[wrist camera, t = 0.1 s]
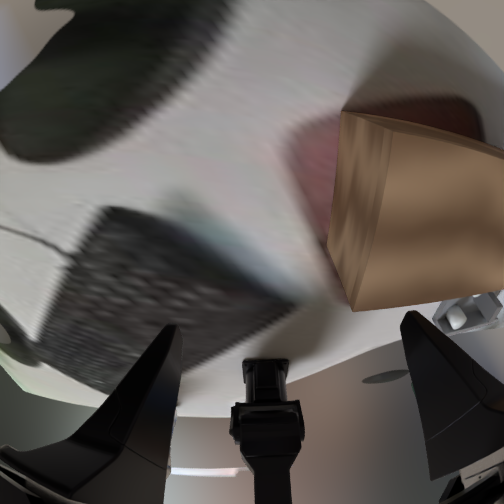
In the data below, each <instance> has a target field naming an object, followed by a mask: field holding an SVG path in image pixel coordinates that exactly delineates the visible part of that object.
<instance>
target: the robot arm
mask: <svg viewBox="0 0 504 504" xmlns="http://www.w3.org/2000/svg"><path fill="white" fill-rule="evenodd" d="M400 331H401V336H402V341H403V346H404V350H405V356H406V361H407V365H408V369H409V372H410V376H411V380H412V383H413V387H414V391H415V395H416V399H417V404H418V408H419V413H420V418H421V422H422V428H423V433H424V438H425V445H426V451H427V458H428V465H429V473H430V480H431V481H433V480H436V479H439V478H441V477H444V476H446V475H449V474H451V473H454V472H456V471H458V470H459V472H460V475H458V476H456V477H454V478H453V479H451V480H450V481H449V483H448V485H447V487H446V489H445V491H444V493H443V494H442V496H441V498H440V500H439V504H504V384H502V383H501V382H500V381H499V380H497V379H496V378H495V377H494V376H492V375H491V374H490V373H489V372H487V371H486V370H485V369H484V368H482V367H481V366H480V365H479V364H478V363H477V362H476V361H475V360H474V359H472V358H471V357H470V356H469V355H468V354H467V353H466V352H465V351H464V350H462V349H461V348H460V347H459V346H458V345H457V344H456V343H454V342H453V341H452V340H451V339H450V338H449V337H448V336H446V335H445V334H444V333H443V332H442V331H441V330H439V329H438V328H437V327H436V326H435V325H433V324H432V323H431V322H430V321H429V320H427V319H426V318H425V317H424V316H423V315H421V314H420V313H419V312H418V311H416V310H413V311H408V312H407V313H406V314H405V316H404V318H403V320H402V322H401V325H400ZM182 350H183V337H182V334H181V331H180V328H179V325H178V324H173V323H168V324H166V325H165V327H164V328H163V329H162V330H161V332H160V333H159V334H158V335H157V337H156V338H155V339H154V340H153V341H152V343H151V344H150V345H149V346H148V348H147V349H146V350H145V351H144V353H143V354H142V355H141V356H140V358H139V359H138V360H137V361H136V363H135V364H134V365H133V366H132V368H131V369H130V370H129V371H128V373H127V374H126V375H125V376H124V378H123V379H122V380H121V382H120V383H119V384H118V385H117V387H116V389H114V390H113V392H112V393H111V394H110V395H109V397H108V398H107V399H106V400H105V401H104V403H103V404H102V405H101V406H100V407H99V408H98V409H97V410H96V412H95V413H94V414H93V415H92V416H91V417H90V418H89V419H88V420H87V421H86V422H85V423H84V424H83V425H82V426H81V427H80V428H79V429H78V430H77V431H76V432H75V433H74V434H72V435H71V436H70V437H68V438H67V439H65V440H62V441H60V442H57V443H53V444H50V445H47V446H43V447H40V448H37V449H33V450H29V451H18V450H16V449H15V448H13V447H11V446H9V445H7V444H6V445H4V446H1V447H0V459H1V460H2V461H3V462H5V463H6V464H8V465H9V466H10V467H12V468H13V469H15V470H16V471H18V472H20V473H21V474H20V473H18V472H16V471H13V470H12V469H9V468H7V467H5V466H4V465H1V464H0V504H163V501H164V491H165V482H166V474H167V465H168V458H169V450H170V443H171V436H172V429H173V423H174V416H175V410H176V404H177V398H178V392H179V386H180V380H181V367H182ZM288 365H289V361H288V360H287V359H283V360H260V361H243V362H242V368H243V379H244V383H245V384H246V403H239V402H235V406H233V407H231V421H230V429H229V434H230V435H231V436H232V437H233V439H234V440H235V444H236V445H240V452H241V456H242V460H243V461H244V463H245V464H246V465H247V467H248V468H249V469H250V471H251V472H252V473H253V475H254V492H255V504H292V497H291V484H290V468H291V466H292V464H293V462H294V461H295V459H296V457H297V455H298V453H299V452H300V449H301V441H304V437H305V427H304V420H303V415H302V411H301V406H300V401H299V400H295V401H287V392H286V382H285V381H286V377H287V371H288ZM22 474H23V475H22Z"/></svg>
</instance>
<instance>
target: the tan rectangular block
mask: <svg viewBox="0 0 504 504" xmlns="http://www.w3.org/2000/svg"><path fill="white" fill-rule="evenodd" d="M327 248H328V250H329V253H330V255H331V258H332V260H333V262H334V265H335V267H336V270H337V272H338V275H339V278H340V280H341V283H342V285H343V288H344V290H345V293H346V296H347V298H348V301H349V304H350V307H351V309H352V312H358V311H369V310H378V309H387V308H395V307H403V306H411V305H418V304H425V303H432V302H438V301H445V300H451V299H457V298H462V297H468V296H473V295H478V294H483V293H488V292H493V291H498V290H502V289H504V150H502V149H500V148H497V147H495V146H492V145H489V144H487V143H484V142H481V141H478V140H475V139H472V138H469V137H466V136H463V135H460V134H456V133H453V132H449V131H446V130H442V129H439V128H435V127H431V126H427V125H423V124H418V123H414V122H409V121H404V120H399V119H394V118H389V117H383V116H377V115H370V114H363V113H356V112H348V111H341V119H340V134H339V147H338V158H337V169H336V178H335V187H334V196H333V204H332V212H331V219H330V226H329V233H328V240H327Z"/></svg>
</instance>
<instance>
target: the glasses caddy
mask: <svg viewBox="0 0 504 504" xmlns="http://www.w3.org/2000/svg"><path fill="white" fill-rule="evenodd" d="M499 292H500V290H498V291H493V292H488V293H483V294H478V295H473V296H468V297H462V298H457V299H451V300H445V301H442V302H441V304H440V305H439V307H438V309H437V311H436V313H435V314H434V316H433V318H432V320H433V322H434V323H435V325H436V327H437V328H438V329H439V330H441V331H442V332H443V333H444V334H445V335H446V336H451V335H455V334H458V333H462V332H466V331H469V330H472V329H476V328H479V327H482V326H486V325H489V324H492V323H495V322H496V321H497V315H498V313H499V312H500V310H501V309H502V307H503V306H502V304H501V303H500V301H499V300H498V298H497V296H498V294H499Z"/></svg>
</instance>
